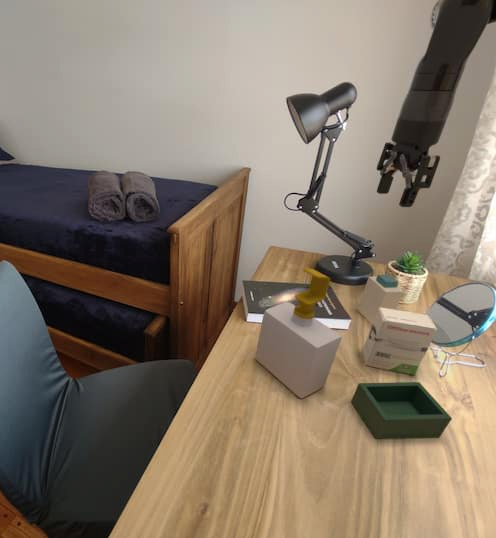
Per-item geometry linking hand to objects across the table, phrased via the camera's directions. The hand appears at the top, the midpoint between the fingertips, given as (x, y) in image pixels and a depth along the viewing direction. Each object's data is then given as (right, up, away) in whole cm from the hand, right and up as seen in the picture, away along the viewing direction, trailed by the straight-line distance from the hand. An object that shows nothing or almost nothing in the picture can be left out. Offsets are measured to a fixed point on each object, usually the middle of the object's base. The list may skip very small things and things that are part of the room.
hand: (392, 199), depth 75 cm
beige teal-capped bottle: (+3, -26, +10) cm, 28 cm away
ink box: (-3, -34, -2) cm, 34 cm away
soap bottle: (-24, -35, -4) cm, 43 cm away
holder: (-10, -40, -14) cm, 44 cm away
